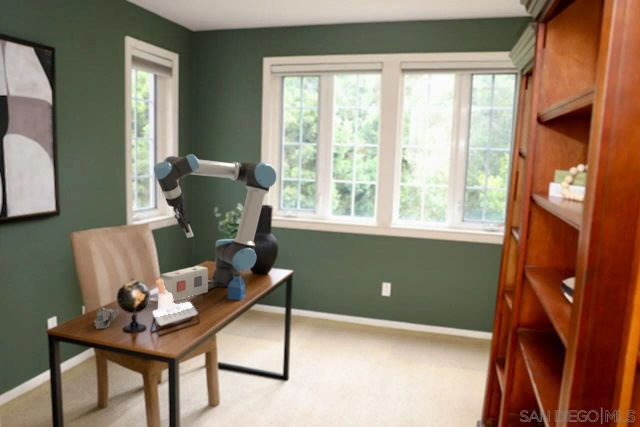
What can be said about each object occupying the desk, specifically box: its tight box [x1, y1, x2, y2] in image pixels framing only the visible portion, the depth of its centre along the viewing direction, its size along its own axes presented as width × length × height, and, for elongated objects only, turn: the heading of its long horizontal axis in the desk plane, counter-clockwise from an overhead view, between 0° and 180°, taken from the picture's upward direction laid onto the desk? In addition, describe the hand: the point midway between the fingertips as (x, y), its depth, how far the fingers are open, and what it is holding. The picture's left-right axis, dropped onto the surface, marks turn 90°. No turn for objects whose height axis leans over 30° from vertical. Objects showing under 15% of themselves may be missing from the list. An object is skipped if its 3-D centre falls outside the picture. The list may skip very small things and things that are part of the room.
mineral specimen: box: [93, 306, 121, 330], centre depth 180 cm, size 10×8×10 cm
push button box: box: [159, 265, 217, 303], centre depth 221 cm, size 30×7×12 cm, turn 145°
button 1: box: [194, 276, 202, 287], centre depth 221 cm, size 4×6×4 cm
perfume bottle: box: [227, 271, 247, 301], centre depth 218 cm, size 6×6×12 cm
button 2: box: [177, 281, 186, 292], centre depth 213 cm, size 4×6×4 cm
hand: (190, 236), depth 219 cm, fingers closed
